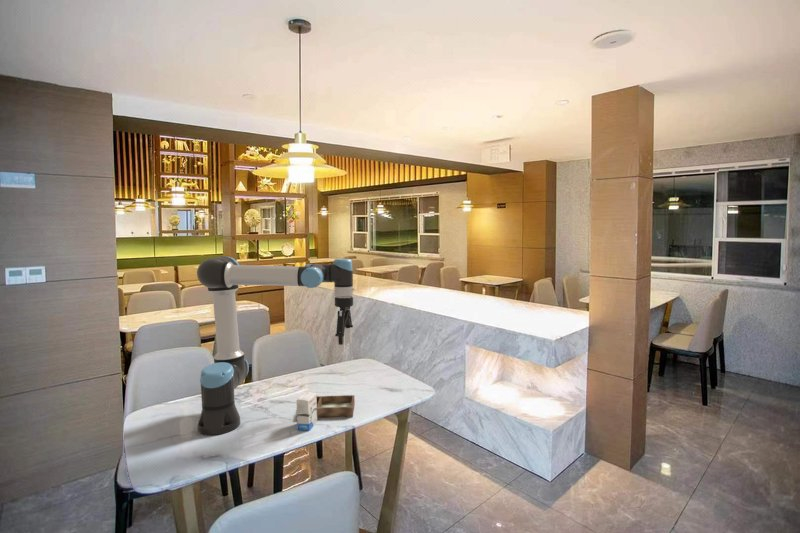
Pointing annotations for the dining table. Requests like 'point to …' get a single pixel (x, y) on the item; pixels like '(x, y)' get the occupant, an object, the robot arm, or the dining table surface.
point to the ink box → (306, 411)
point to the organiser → (335, 406)
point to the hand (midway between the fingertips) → (344, 347)
